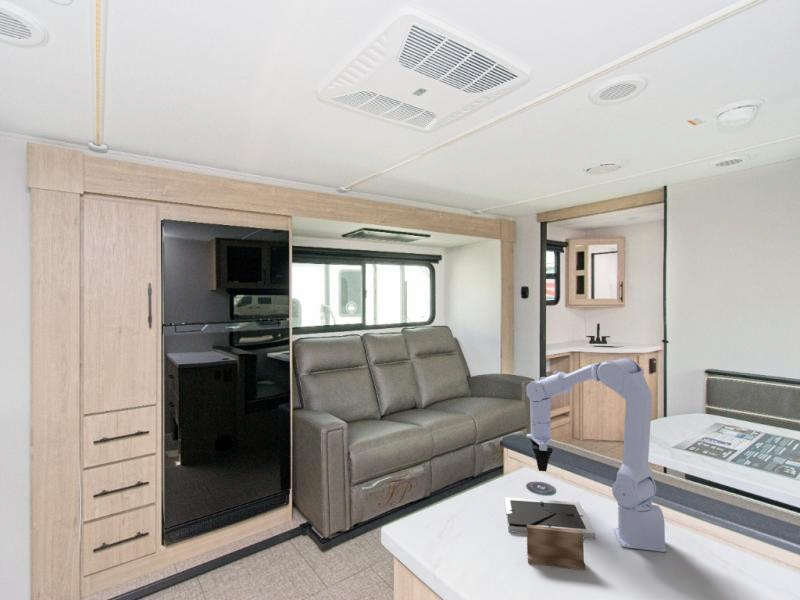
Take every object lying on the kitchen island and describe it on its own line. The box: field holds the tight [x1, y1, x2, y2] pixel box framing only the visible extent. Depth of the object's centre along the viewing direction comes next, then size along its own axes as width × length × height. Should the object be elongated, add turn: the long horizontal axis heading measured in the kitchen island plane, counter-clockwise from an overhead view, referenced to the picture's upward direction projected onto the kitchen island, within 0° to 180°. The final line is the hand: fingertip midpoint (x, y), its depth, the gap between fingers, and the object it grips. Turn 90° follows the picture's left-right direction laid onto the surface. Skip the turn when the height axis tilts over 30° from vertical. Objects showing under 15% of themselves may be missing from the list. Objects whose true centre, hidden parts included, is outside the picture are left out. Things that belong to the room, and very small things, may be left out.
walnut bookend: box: [526, 525, 587, 571], centre depth 92 cm, size 12×3×7 cm, turn 76°
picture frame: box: [503, 496, 596, 540], centre depth 111 cm, size 16×3×21 cm
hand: (541, 466), depth 122 cm, fingers open, 6 cm apart
